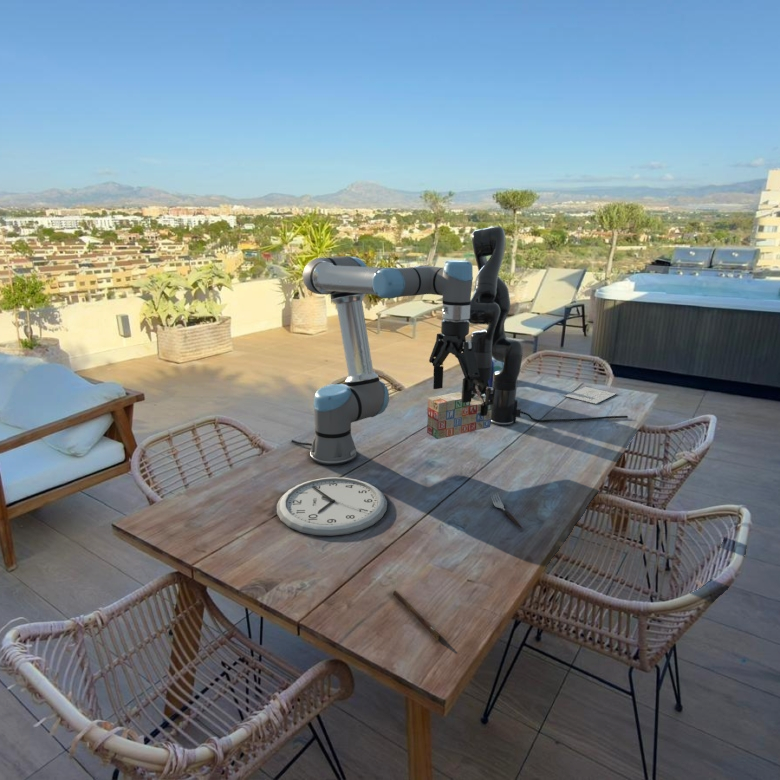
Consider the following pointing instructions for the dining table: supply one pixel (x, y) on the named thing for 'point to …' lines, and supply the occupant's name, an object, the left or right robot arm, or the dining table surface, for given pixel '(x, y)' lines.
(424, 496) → the dining table surface
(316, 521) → the wall clock
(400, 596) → the dark brown stick
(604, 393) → the invitation card
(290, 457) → the dining table surface
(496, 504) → the fork
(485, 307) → the right robot arm
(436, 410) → the stack of blocks
